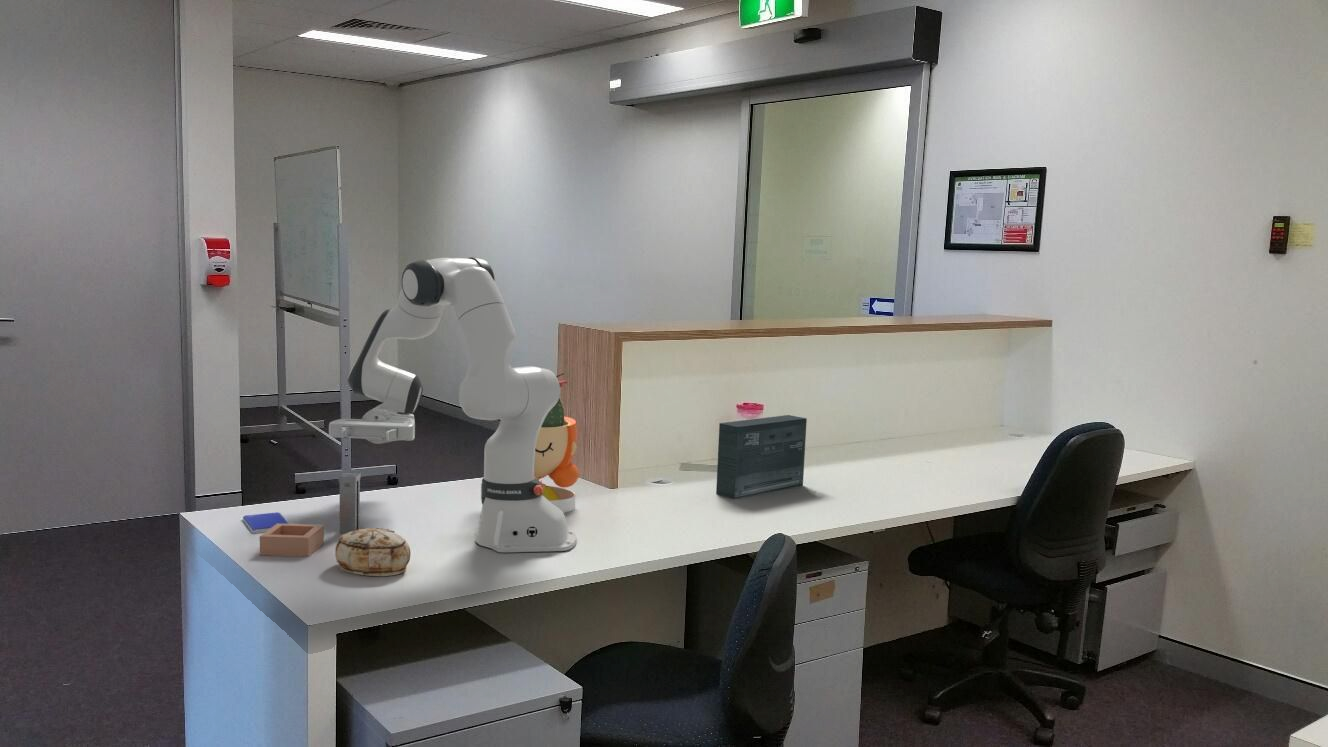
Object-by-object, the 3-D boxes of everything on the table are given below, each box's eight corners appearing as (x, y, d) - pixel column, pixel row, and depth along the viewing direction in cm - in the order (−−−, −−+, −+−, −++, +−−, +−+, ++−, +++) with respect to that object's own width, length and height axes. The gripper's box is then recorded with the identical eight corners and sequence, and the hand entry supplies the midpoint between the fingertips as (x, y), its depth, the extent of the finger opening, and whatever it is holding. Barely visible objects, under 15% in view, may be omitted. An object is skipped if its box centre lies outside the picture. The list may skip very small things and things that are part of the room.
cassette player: (784, 481, 296) (788, 415, 294) (802, 486, 291) (806, 418, 289) (716, 494, 276) (719, 423, 274) (734, 499, 271) (737, 427, 269)
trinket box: (407, 578, 195) (408, 539, 194) (328, 579, 193) (328, 540, 192) (413, 558, 209) (414, 521, 208) (339, 558, 206) (339, 521, 205)
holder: (323, 542, 216) (323, 524, 216) (308, 556, 206) (308, 537, 206) (277, 541, 216) (277, 523, 215) (259, 555, 206) (259, 536, 206)
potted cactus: (562, 517, 245) (566, 376, 241) (479, 508, 251) (482, 370, 246) (591, 498, 266) (595, 367, 262) (514, 490, 271) (517, 362, 267)
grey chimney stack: (360, 529, 227) (360, 473, 226) (355, 534, 223) (355, 476, 222) (343, 529, 227) (343, 472, 226) (338, 534, 223) (338, 476, 222)
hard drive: (242, 515, 232) (253, 528, 221) (279, 511, 236) (291, 524, 226) (242, 522, 232) (253, 535, 221) (279, 518, 236) (291, 531, 226)
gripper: (337, 411, 248) (320, 420, 234) (420, 414, 249) (407, 424, 235) (337, 436, 249) (320, 446, 235) (419, 439, 249) (407, 450, 236)
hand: (364, 435), depth 235 cm, fingers open, 8 cm apart
